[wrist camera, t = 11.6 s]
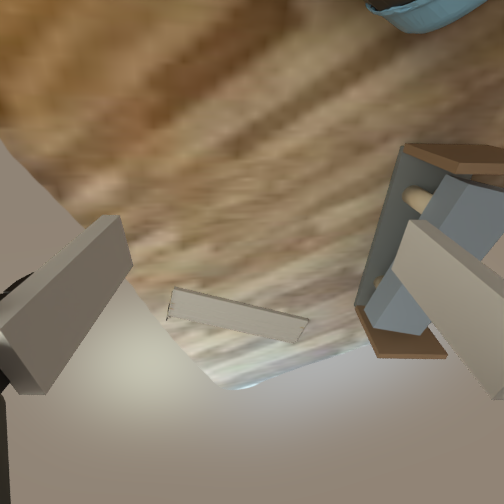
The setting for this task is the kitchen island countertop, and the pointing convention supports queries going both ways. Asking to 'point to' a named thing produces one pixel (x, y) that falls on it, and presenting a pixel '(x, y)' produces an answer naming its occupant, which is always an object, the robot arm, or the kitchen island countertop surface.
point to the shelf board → (456, 228)
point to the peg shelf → (395, 222)
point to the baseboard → (235, 315)
